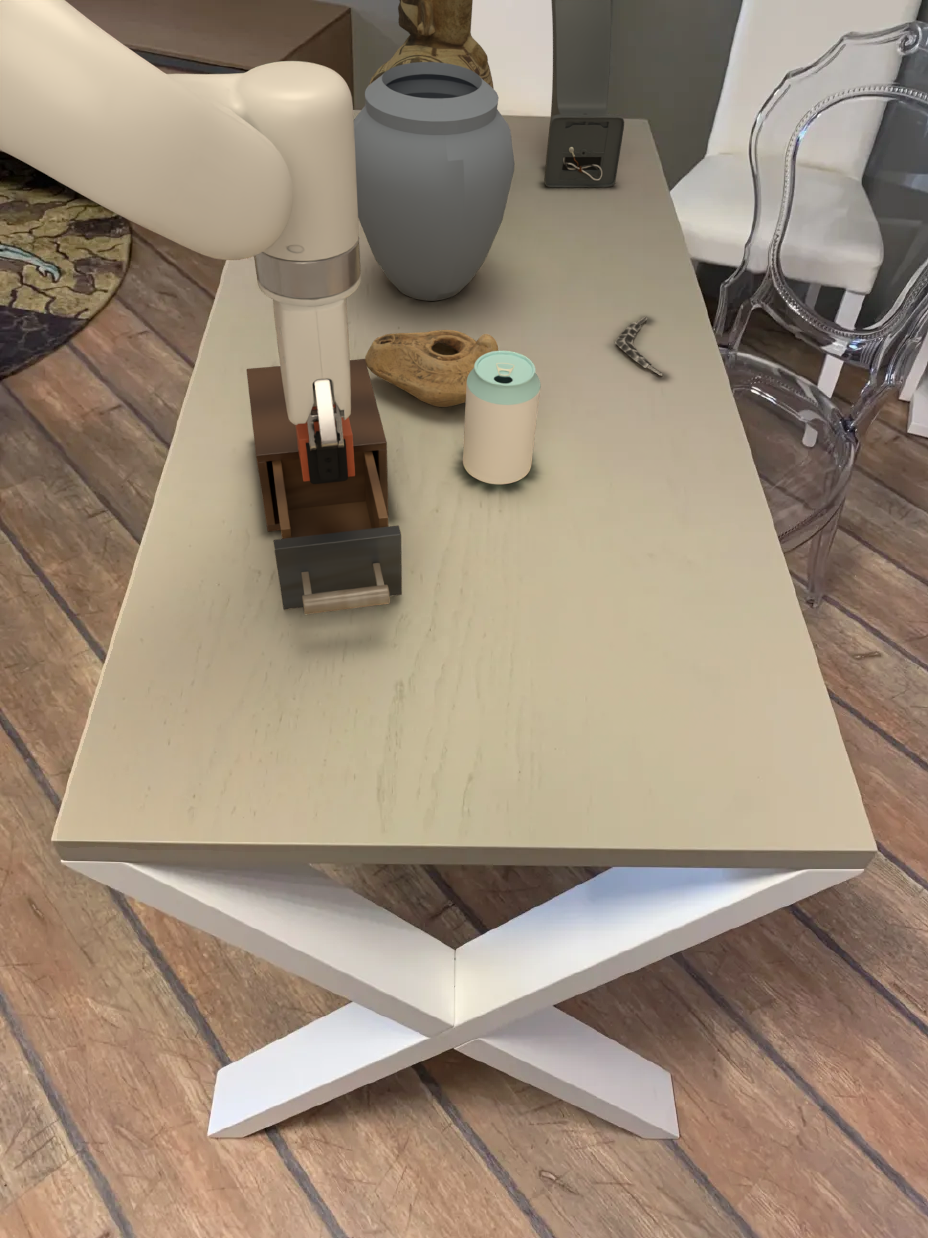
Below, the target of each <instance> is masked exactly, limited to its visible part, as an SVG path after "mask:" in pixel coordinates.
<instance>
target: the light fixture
mask: <svg viewBox="0 0 928 1238" xmlns="http://www.w3.org/2000/svg"><path fill="white" fill-rule="evenodd" d="M551 18H552V19H551V20H552V21H551V22H552V79H551V80H552V83H551V84H552V85H551V86H552V87H551V105H550V107H551V108H550V119H549V125H548V126H549V128H548V136H547V146H546V154H545V155H546V156H545V164H544V165H545V167H544V174H543V175H544V177H543V181H544V184H545V186H546V187H548V188H611V187H613V186H614V185H615V184H616V179H617V174H618V169H619V163H620V156H621V149H622V143H623V136H624V131H625V130H624V129H625V119H624V118H623V116H622V115H620V114H610V112H609V109H608V102H609V87H610V75H611V73H610V72H611V44H612V43H611V42H612V41H611V40H612V0H551Z"/></svg>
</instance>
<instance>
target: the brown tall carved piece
mask: <svg viewBox="0 0 928 1238" xmlns="http://www.w3.org/2000/svg"><path fill="white" fill-rule="evenodd" d="M398 1H399V3H398V6H397V13H398V20H397V21H398V25H399V27H400V28H401V29H403V30H404V31H406V32H407V33H408V34H409V35H408V37H407V38H406V39H405V41H404V42H403V43H402V45H400V46H399V48H398V49H396V51H395V53H394V54H393V56H392V57H391V58H390V59H389V60H388V61H386V62H384V63H383V64H382V65H381V66H380V67H379V68H378V69H376V71H375V72H374V73H373V75H372V76H371V79H370V81H369V83H368V86H369V85H370V84H371V83H372V82H374V81H375V80H376V79H378V78H379V77H380V76H382V75H383V74H384V73H385V72H386V71H387V70H389V69H391V68H393V67H396V66H399V65H403V64H408V63H417V62H438V63H447V64H453V65H457V66H461V67H464V68H467V69H469V70H471V71H473V72H475V73H476V74H478V75H479V76H480V77H481V78H482V79H483V80H484V81H485V82H486V83H487V84H489V85H490V86H491V87H492V88H493V89H494V82H493V77H492V73H491V68H490V64H489V62H488V61H489V59H488V54H487V52H486V51H485V50H484V48H483V47H482V46H481V44H479V43H478V42H477V40H476V39H475V38H474V36H472V16H473V0H398ZM494 90H495V89H494Z"/></svg>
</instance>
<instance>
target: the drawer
mask: <svg viewBox="0 0 928 1238" xmlns="http://www.w3.org/2000/svg"><path fill="white" fill-rule="evenodd" d="M272 465H273V473H274V481H275V488H276V496H277V504H278V512H279V520H280V528H281V530H280V534H281V538H278V539H277V538H276V539H273V541H272V542H273V549H274V556H275V562H276V568H277V569H276V570H277V576H278V582H279V589H280V595H281V602H282V609H283V610H284V611H285V610H294V609H301V608H303V611H304V612H303V614H304V615H311V614H313V615H314V614H320V613H328V612H335V611H343V610H349V609H358V608H366V607H373V606H380V605H382V606H383V605H389V604H390V603H391V597H395V596H402V595H403V579H402V578H403V577H402V576H403V575H402V574H403V573H402V570H403V568H402V567H403V566H402V532H401V529H400V526H399V525H398V524H397V525H391V526H390V525H389V517H388V515H387V511H386V507H385V503H384V498H383V494H382V490H381V486H380V482H379V478H378V474H377V469H376V465H375V461H374V457H373V453H372V451H364V452H354V466H355V476H351V477H348V479H347V480H346V481H341V482H331V483H322V484H312V483H311V482H310V481H303V476H302V469H301V463H300V458H295V459H285V460H275V461H272Z"/></svg>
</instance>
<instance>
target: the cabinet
mask: <svg viewBox="0 0 928 1238" xmlns="http://www.w3.org/2000/svg"><path fill="white" fill-rule="evenodd" d="M246 378H247V388H248V396H249V405H250V414H251V415H250V416H251V423H252V431H253V432H252V433H253V442H254V449H255V458H256V465H257V471H258V477H259V484H260V489H261V490H260V491H261V497H262V503H263V510H264V515H265V520H266V521H265V523H266V530H267V532H276V531H281V528H280V520H279V512H278V504H277V496H276V488H275V481H274V473H273V465H272V461H275V460H285V459H295V458H300V457H299V451H298V442H297V433H296V425H294V424H293V423H292V422H291V421H290V420H289V418H288V413H287V408H286V401H285V395H284V389H283V382H282V375H281V367H280V365H275V366H264V367H263V366H262V367H252V368H246ZM350 381H351V414H350V416H349V421H350V425H351V430H352V434H353V450H354V452H364V451H372V453H373V457H374V461H375V465H376V469H377V474H378V478H379V482H380V486H381V490H382V494H383V498H384V503H385V507H386V511H387V515H388V518H389V517H390V516H389V515H390V514H389V485H388V484H389V480H388V479H389V478H388V477H389V475H388V449H387V448H388V442H387V438H386V435H385V430H384V426H383V423H382V419H381V414H380V411H379V408H378V404H377V400H376V396H375V392H374V389H373V384H372V380H371V377H370V373H369V368H368V367H367V365H366V361H365V358H359V359H350Z"/></svg>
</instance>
